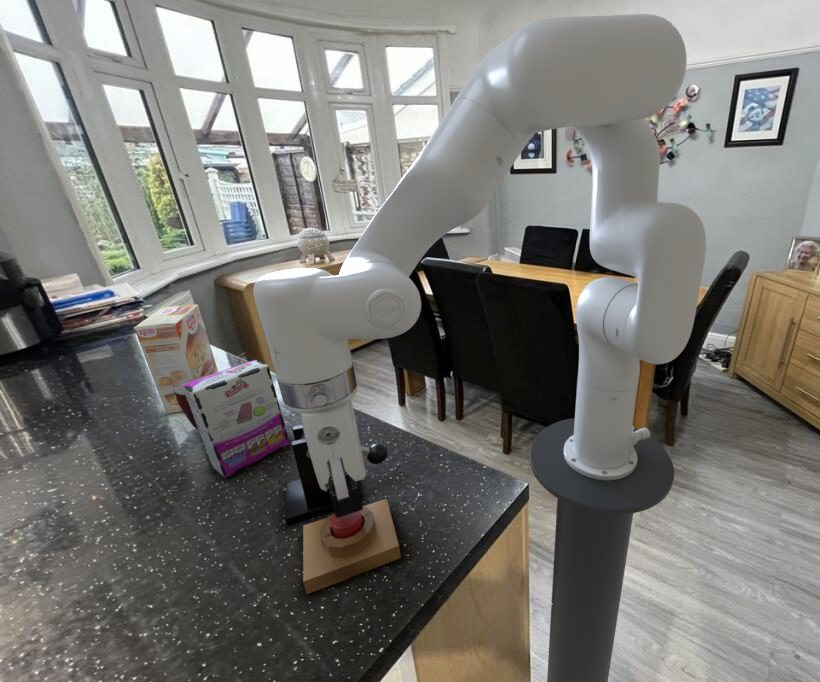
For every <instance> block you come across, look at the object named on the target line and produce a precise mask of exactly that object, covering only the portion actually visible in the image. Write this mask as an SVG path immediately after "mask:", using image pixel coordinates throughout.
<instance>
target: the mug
mask: <svg viewBox="0 0 820 682" xmlns="http://www.w3.org/2000/svg"><path fill="white" fill-rule="evenodd" d="M208 376H209V375H208ZM203 377H206V376H202V377H198V378H194V379H191V380H188V381H186V382H184V383H182V384H180V385H179V386H177V387H176V388H175V390H174V393H175V396H176V399H177V402H178V404H179V406H180V407H181V409H182V410H183V411H182V412H183V414H184V416H185V417H186V418H187V420H188V421H189V422H190V424H191V425H192V427H194V428H195V429H196V430H198V431H199V429H198V427H197V424H196V421H195V419H194V416H193V413H192V411H191V408H190V405H189V403H188V400H187V398H186V395H185V393H184V390H183V387H182V385H183V384H186V383H189V382H192V381H195V380H198V379H200V378H203Z"/></svg>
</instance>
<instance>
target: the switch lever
mask: <svg viewBox="0 0 820 682" xmlns="http://www.w3.org/2000/svg"><path fill="white" fill-rule="evenodd" d="M301 439H305V435H304V432H303V434H302V436H301ZM301 439H300V440H301ZM361 449H362V454H363V457H366V460H367V461H368V462H369V463H370V464H372V465H380V464H382V463H384V462H385V461H386V459H387V458H388V449H387V447H386V445H384V444H382V443H374V444H372V445H370V446H369V447H367V446H362V445H361Z"/></svg>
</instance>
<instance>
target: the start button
mask: <svg viewBox="0 0 820 682" xmlns="http://www.w3.org/2000/svg"><path fill="white" fill-rule="evenodd" d="M333 514H334V513H333ZM333 514H332V515H333ZM362 525H363V521H362V516H361V512H360V511H357V512H354V513H351V514H348V515H345V516H343V517H340V518H337V517H336V516H335V514H334V515H333V517H332V519H331V526H332V530H333V534H334V535H335V536H336V537H337V538H341V539H344V538H348V537H351V536H354V535H355V534H356V533H358V532H359V531H360V529H361V528H362Z"/></svg>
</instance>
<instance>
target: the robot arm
mask: <svg viewBox="0 0 820 682" xmlns="http://www.w3.org/2000/svg"><path fill="white" fill-rule="evenodd" d="M687 64H688V61H687V50H686V45H685V42H684V40H683V37H682V35H681V33H680V32H679V30H678V29H677V27H676V26H675V25H674V24H673V23H672V22H671V21H669V20H668V19H667V18H664V17H663V16H660V15H656V14H651V13H634V14H618V15H617V14H614V15H612V14H611V15H583V16H565V17H564V16H563V17H552V18H546V19H539V20H536V21H534V22H531V23H529V24H526V25H524V26H523V27H522V28H520V29H519V30H518V31H516V32H515V33H513V34H512V35H510V36H508V38H506V39H505V40H503V41H502V42H500V43H499V44H497V45H495V47H493V48H492V49H491V50H489V51H488V52H487V53H486V55H485V56H484V57H483V58H482V59H481V60H480V61H479V63H478V64H477V66H476V67H475V68H474V70H473V71H472V73H471V74H470V76H469V77H468V79H467V80H466V82H465V84H464V85H463V87H462V88H461V90H460V91H459V93H458V94H457V96H456V97H455V99H454V101H453V102H452V104H451V105H450V107H449V109H448V110H447V112H446V113H445V115H444V117H443V118H442V119H441V121H440V122H439V124H438V126H437V127H436V129H435V131H434V132H433V133H432V135H431V136H430V137H429V140H428V141H427V142H426V144H425V145H424V146H423V148H422V149H421V151H420V153H419V154H418V156H417V157H416V158H415V160H414V161H413V163H412V164H411V166H409V168H408V170H407V171H406V172H405V173H404V175H403V176H402V177H401V179H400V180H399V182H398V184H397V185H396V187H394V189H393V191H392V192H391V193H390V194H389V196H388V197H387V199H386V200H385V201H384V202H383V204H382V205H381V206H380V207H379V209H378V210H377V212H376V213H375V214H374V216H373V217H372V219H371V220H370V222H369V223H368V225H367V226H366V227H365V229H364V230H363V232H362V234H361V235H360V236H359V238H358V240H357V241H356V243H355V244H354V246H353V247H352V249H351V250H350V252H349V254H348V255H347V257H346V259H345V260H344V262H343V264H342V266H341V268H340V270H339V273H338V275H333V274H332V273H330V271H327V270H325V269H321V268H314V267H303V268H291V269H283V270H279V271H274V272H271V273H267V274H265V275H263V276H261V277H259V278H258V279H256V281H255V282H254V284H253V287H252V295H253V299H254V304H255V306H256V310H257V313H258V318H259V320H260V321H259V322H260V324H261V328H262V332H263V334H264V338H265V341H266V346H267V348H268V352H269V356H270V359H271V363H272V367H273V370H274V371H273V372H274V375H275V378H276V381H277V384H278V388H279V391H280V395H281V398H282V402H283V406H284V408H285V409H286V410H288V411H289V412H293V413H298V415H299V418H300V422H301V425H302V427H303V431H304V435H305V438H306V442H307V446H308V450H309V453H310V457H311V460H312V464H313V467H314V470H315V474H316V477H317V480H318V483H319V486H320V488H321V489H322V490H324V491H327V489H328V488H330V496H331V500H332V504H333V508H334V510H333V513H335V516H336V517H337V518H340V517H343V516H345V515H348V514H351V513H354V512H357V511H360V510H362V508H363V506H364V505H363V503H362V502H363V501H362V496H361V491H360V486H359V481H363V480H364V479H365V478H366V476H367V470H366V466H365V465H366V464H365V459H364V456H363V454H362V449H361V446H362V444H361V439H360V434H359V429H358V425H357V420H356V415H355V411H354V406H353V403H352V398H354V397H355V396H356V394H357V393H358V389H359V388H358V383H357V377H356V373H355V367H354V366H355V365H354V362H353V356H352V352H351V351H352V350H351V345H350V341H349V340H383V339H390V338H395V337H398V336H400V335H402V334H404V333H406V332H407V331H409V330H410V329H412V327H414V326H415V324H416V323H417V321H418V320H419V317H420V315H421V311H422V299H421V295H420V294H421V293H420V291H419V289H418V287H417V285H416V284H415V283H414V281H413V280H412V279H411V278H410V276H411V275H412V273H413V271H414V270H415V268H417V265H418V264H419V262H420V261H421V260H422V258H423V257H424V256H425V255H426V253H427V252H428V251H429V249H431V247H433V246H434V245H435V243H436V242H437V241H438V240H440V239H441V238H442V237H443V236H445V235H446V234H448V233H449V232H451V231H453V230H455V229H457V228H459V227H462V226H463V225H464V224H467V223H468V222H470V221H471V220H473V219H474V218H475V217H476V216H478V215H479V214H480V213H481V212H482V211H483V210H484V209H485V208H486V206H487V205H488V203H490V200H491V199H492V198H493V196H494V194H495V193H496V191H497V190H498V188H499V187H500V185H501V183H502V182H503V180H504V179H505V177H506V176H507V174H508V173H509V171H510V170H511V168H512V167H513V165H514V163H515V162H516V161H517V159H518V157H520V155H521V154H522V152H523V150H524V149H525V148H526V146H527V144H528V143H529V141H530V140H531V139H532V138H533V136H534V135H535V134H537V133H541V132H545V131H551V130H555V129H563V128H564V129H565V128H572V129H574V131H575V132H576V133H577V134H578V135H579V137H580V138H581V139H582V141H583V143H584V145H585V147H586V150H587V152H588V154H589V157H590V162H591V177H592V178H591V180H592V182H591V183H592V186H591V188H592V189H591V202H590V203H591V204H590V221H589V222H590V223H589V250H590V255H591V257H592V259H593V260H594V261H595V263H596V264H598V265H599V266H601V267H603V268H606V269H608V270H609V271H615V272H616V273H617V272H618V273H621V274H625V275H628V276H632V277H634V278H637V282H634V281H631V280H627V279H624V278H621V277H615V276H604V277H598V278H596V279H594V280H592V281H590V282H589V283H588V284H587V285H586V286H585V287H583V289H582V290H581V292H580V293H579V296H578V298H577V302H576V306H575V307H576V308H575V321H576V328H577V336H578V367H577V369H578V370H577V381H576V394H575V395H576V396H575V397H576V398H575V407H574V408H575V409H574V418H575V422H574V435H573V436H571V437H570V438H569V439H568V440H567V441H566V443H565V445H564V457H565V460H566V462H567V463H568V464H569V466H570V467H571V468H573V469H574V470H575V471H577V472H578V473H580V474H582V475H584V476H586V477H589V478H593V479H597V480H618V479H621V478H624V477H626V476H628V475H630V474H631V473H632V472H633V471H634V470H635V468H636V465H637V458H638V457H637V453H636V451H635V449H634V448H633V447H634V445H636V444H637V442H638V441H642V440H644V439H647V438H649V437H650V436H651V432H650V430H649V429H648V427H642V428H638V429H639V430H637V431H635V432H633V431H634V427H635V426H634V425H633V423H634V416H635V409H636V402H637V394H638V386H639V381H640V374H641V364H640V361H642V362H645V363H648V364H653V365H663V364H667V363H670V362H672V361H673V360H675V359H676V358H678V356H679V355H680V354H681V353H682V352H683V351H684V349H685V348H686V347H687V344H688V342H689V340H690V338H691V335H692V332H693V328H694V324H695V318H696V313H697V306H698V302H699V296H700V290H701V285H702V277H703V272H704V267H705V260H706V253H707V236H706V230H705V227H704V224H703V221H702V219H701V218H700V216H699V215H698V213H697V212H696V211H695V210H694V209H692V208H690V207H689V206H686V205H684V204H681V203H677V202H665V201H664V202H663V201H659V198H658V196H659V195H658V194H659V179H660V178H659V177H660V165H661V164H660V163H661V159H660V158H661V157H660V150H659V144H658V140H657V137H656V135H655V133H654V131H653V129H652V127H651V126H650V124H649V122H648V121H647V118H649V117H652V116H656V115H657V114H658V113H660V112H662V111H663V110H664V109H665V108H667V107H668V106H669V105H670V104H671V103H672V101H673V100H674V99H675V98H676V96H677V94H678V93H679V91H680V89H681V87H682V84H683V83H684V78H685V76H686V71H687Z"/></svg>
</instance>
